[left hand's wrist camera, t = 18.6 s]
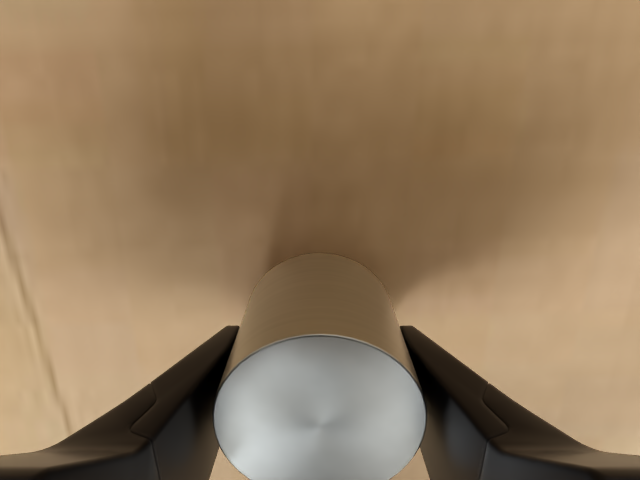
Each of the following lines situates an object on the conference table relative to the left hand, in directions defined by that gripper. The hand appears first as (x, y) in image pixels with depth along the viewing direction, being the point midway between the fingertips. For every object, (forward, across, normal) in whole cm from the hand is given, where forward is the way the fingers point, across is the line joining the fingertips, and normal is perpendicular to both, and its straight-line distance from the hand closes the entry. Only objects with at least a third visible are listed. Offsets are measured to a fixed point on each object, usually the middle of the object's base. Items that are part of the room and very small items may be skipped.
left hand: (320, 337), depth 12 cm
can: (+1, 0, 0) cm, 1 cm away
